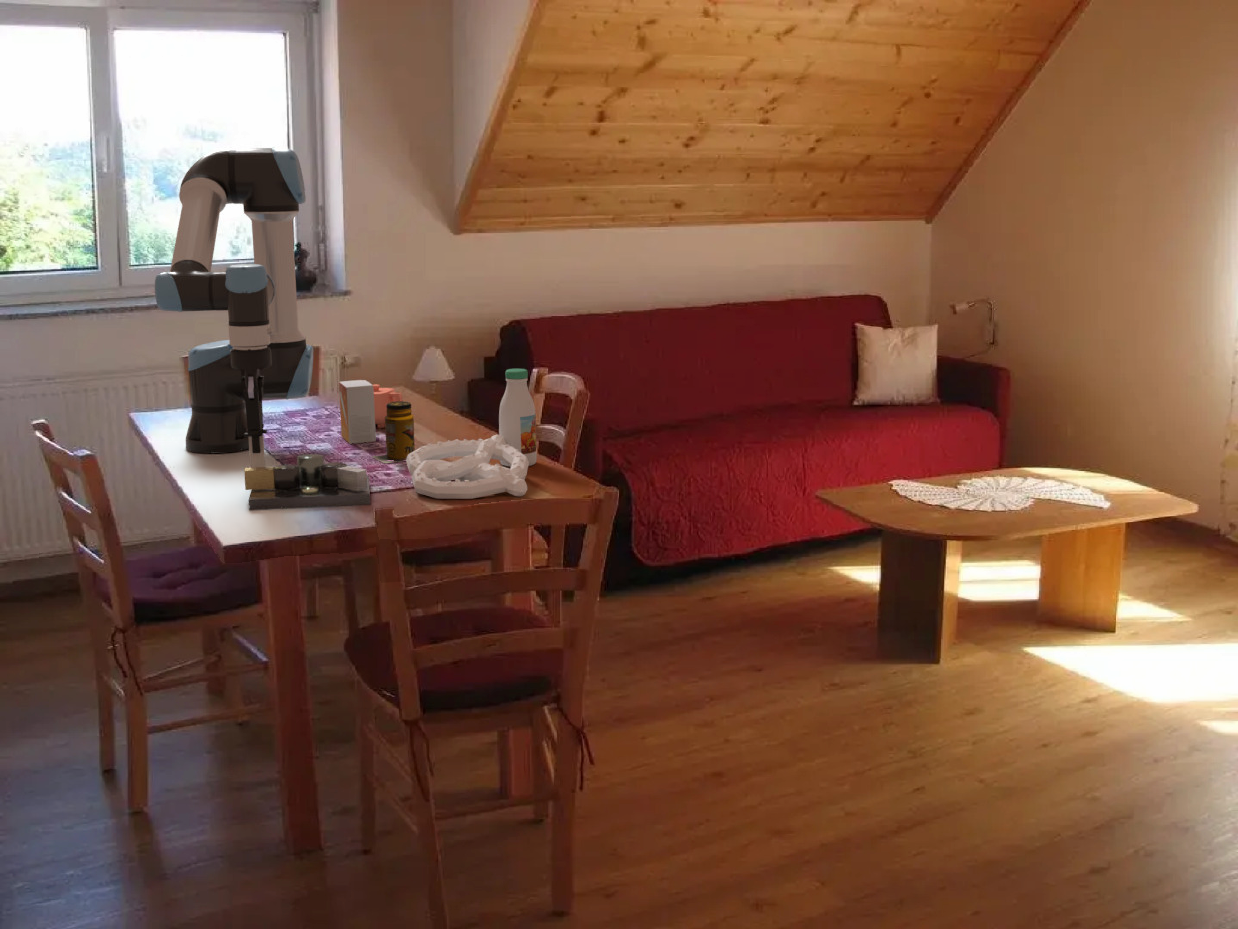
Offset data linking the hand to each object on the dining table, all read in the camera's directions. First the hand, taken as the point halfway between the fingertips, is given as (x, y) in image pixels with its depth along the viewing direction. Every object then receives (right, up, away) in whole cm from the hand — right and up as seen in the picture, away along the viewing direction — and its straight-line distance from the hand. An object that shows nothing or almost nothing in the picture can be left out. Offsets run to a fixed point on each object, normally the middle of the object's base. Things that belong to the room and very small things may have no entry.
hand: (257, 468), depth 271 cm
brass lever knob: (+4, -4, -4) cm, 7 cm away
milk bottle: (+48, +1, +24) cm, 54 cm away
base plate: (+11, -6, -3) cm, 12 cm away
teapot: (+11, +10, +65) cm, 67 cm away
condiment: (+22, +2, +30) cm, 37 cm away
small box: (+10, +6, +48) cm, 50 cm away
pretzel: (+40, -3, +7) cm, 41 cm away
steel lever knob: (+17, -3, -4) cm, 18 cm away
